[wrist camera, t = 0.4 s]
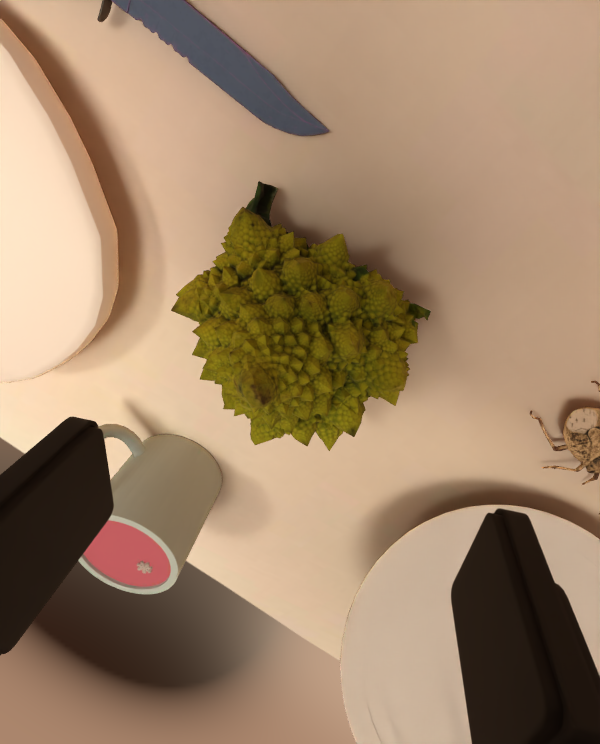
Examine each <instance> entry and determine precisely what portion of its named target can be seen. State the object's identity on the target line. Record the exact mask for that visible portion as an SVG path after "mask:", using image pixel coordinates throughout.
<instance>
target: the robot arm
mask: <svg viewBox="0 0 600 744" xmlns="http://www.w3.org/2000/svg"><path fill="white" fill-rule="evenodd" d="M113 508H114V501H113V495H112V488H111V482H110V475H109V468H108V462H107V455H106V449H105V442H104V435H103V431H102V430H101V429H99V428H98V425H97V423H96V422H94V421H91V420H86V419H81V418H77V417H69V418H67V419H66V420H65V421H63V422H62V423H61V424H60V425H59V426H57V427H56V428H55V429H54V430H53V431H52V432H50V433H49V434H48V435H47V436H46V437H45V438H43V439H42V440H41V441H40V442H39V443H37V444H36V445H35V446H34V447H33V448H32V449H30V450H29V451H28V452H27V453H26V454H24V455H23V456H22V457H21V458H20V459H19V460H18V461H16V462H15V463H14V464H13V465H12V466H10V467H9V468H8V469H7V470H6V471H4V472H3V473H2V474H1V475H0V655H1V654H5V653H7V652H9V651H10V650H11V649H12V648H13V647H14V646H15V645H16V643H17V642H18V641H19V639H20V638H21V637H22V635H23V634H24V633H25V631H26V630H27V629H28V627H29V626H30V625H31V623H32V622H33V621H34V619H35V618H36V616H37V615H38V614H39V613H40V611H41V610H42V608H43V607H44V606H45V604H46V603H47V602H48V600H49V599H50V598H51V596H52V595H53V594H54V592H55V591H56V590H57V588H58V587H59V586H60V584H61V583H62V582H63V580H64V579H65V578H66V576H67V575H68V573H69V572H70V571H71V569H72V568H73V567H74V565H75V564H76V563H77V561H78V560H79V559H80V557H81V556H82V555H83V553H84V552H85V551H86V549H87V548H88V547H89V545H90V544H91V543H92V541H93V540H94V539H95V537H96V536H97V535H98V533H99V532H100V531H101V529H102V528H103V527H104V525H105V524H106V523H107V521H108V520H109V518H110V517H111V514H112V512H113ZM451 604H452V611H453V618H454V624H455V631H456V638H457V645H458V652H459V659H460V666H461V672H462V679H463V686H464V693H465V700H466V707H467V714H468V720H469V727H470V734H471V741H472V744H600V675H599V673H598V671H597V668H596V666H595V663H594V661H593V658H592V656H591V653H590V651H589V648H588V646H587V644H586V641H585V639H584V636H583V634H582V631H581V629H580V626H579V624H578V621H577V619H576V616H575V614H574V612H573V609H572V607H571V604H570V602H569V599H568V597H567V595H566V593H565V591H564V590H563V589H562V588H561V586H560V585H559V584H556V583H555V582H554V579H553V577H552V574H551V572H550V569H549V566H548V564H547V561H546V559H545V556H544V554H543V551H542V549H541V546H540V543H539V541H538V538H537V536H536V533H535V531H534V528H533V525H532V523H531V520H530V518H529V517H528V515H526V514H525V513H520V512H515V511H511V510H506V509H501V508H498V509H497V510H496V511H495V512H494V514H493V513H487V515H486V516H485V518H484V520H483V522H482V524H481V526H480V528H479V530H478V533H477V535H476V537H475V539H474V541H473V543H472V545H471V547H470V549H469V551H468V553H467V555H466V557H465V559H464V561H463V563H462V566H461V568H460V570H459V572H458V574H457V576H456V578H455V580H454V582H453V585H452V589H451Z"/></svg>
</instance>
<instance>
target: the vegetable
mask: <svg viewBox="0 0 600 744" xmlns="http://www.w3.org/2000/svg"><path fill="white" fill-rule="evenodd" d="M277 190H278V188H277V187H274V186H271V185H267V184H263V183H262V182H260V181H259V182H258V186H257V190H256V194H255V198H254V199H252V200H251V201H250V202H249V204H248V205H247V207H246V208H244V207H242V208H241V210H240V211H239V212H238V213H237V214H236V216H235V217H234V219H233V221H232V224H231V226H230V227H229V228H228V229H229V232H228V233H227V234H228V235H227V236H225V237H224V239H225V241H226V242H224V243H221V244H222V246H223V248H224V249H225V251H226V252H225V253H223V254H221V255H219V256H217V257H216V258H217V259H216V260H214V261H213V263H214V264H215V265H216V266H215V267H213V268H211V271H209V270H207V271H204V272H203V275H197V276H196V278H195V279H194V280H193V281H191V282H190V283H188V284H187V285H186V286H185V287H183V288H182V289H181V290H180V291H179V292H178V293H177V294H176V295H177V296H178V297H179V298H178V300H177V302H176V303H175V305H174V306H173V308H172V310H171V311H173V312H176V313H178V314H181V315H183V316H185V317H188V318H190V319H192V320H194V321H197V322H199V324H200V326H199V327H197V328H196V329H195V330H193V331H192V332H193V333H195V334H196V335H197V336H199V337H200V339H199V341H198V343H197V346H196V348H195V350H194V352H193V354H192V355H195V356H198V357H202V358H205V359H207V361H206V364H205V365H204V367H203V368H202V369H203V372H202V374H201V377H200V379H202V380H211V381H215V384H221V385H222V397H223V401H224V404H225V405H224V408H223V409H235V413H234V416H237V415H241V414H245V415H246V417H247V418H248V419H249V418H250V419H251V434H250V435H251V440H252V441H253V443H254V444H255V445H257V444H260V443H263V442H266V441H269V440H272V439H273V438H276V437H277V438H281V436H282V437H283V435H284V433H286V434H288V435H290V433H291V434H292V436H293V437H294V438H295V439H296V440H298V441H299V442H301V443H303V444H304V445H306V446H308V444H309V442H310V440H311V437H312V435H313V434H314V432H315V431H316V433H317V434H318V436H319V437H320V439H322V440H323V442H324V444H325V445H326V447H327V448H328V450H329V451H330V449H331V448H332V446H333V445H334V443H335V442H336V440H337V439H338V437H339V436H340V435H341V434H342V433H343V431H344V432H346V433H348V434H350V435H351V436H353V437H354V436H355V434H356V432H357V430H358V428H359V426H360V424H361V420H362V415H363V413H364V411H365V407H364V404H363V402H365V401H367V400H368V397H370V396H372V397H374V398H376V399H378V398H379V397H381V398H383V399H385V400H386V401H388V402H390V403H391V404H393V405H394V406H396V403H397V399H398V396H399V391H403V390H404V387H405V384H406V379H407V376H408V375H409V374H408V373H407V371H408V370H410V368H409V367H408V363H407V362H406V360H407V359H408V358H407V355H408V353H406V352H405V351H406V349H407V348H408V346H409V345H410V344H414V343H418V337H417V329H418V323H417V322H416V321H414V320H415V319H420V318H422V317H425V319H426V320H428V317H429V315H430V312H431V311H430V310H427V309H425V308H423V307H421V306H418V305H416V304H412V303H410V302H409V300H402V298H403V293H404V291H400V290H397V288H394V287H393V286H392V285H391V284H390V281H389V280H390V279H389V280H386V279H383V278H382V277H381V275H380V274H378V273H377V269H375V270H373V271H371V272H368V271H367V265H363V266H359V267H355V265H353V264H351V263H350V262H348V261H349V257H350V256H349V254H348V250H347V246H346V242H345V239H344V235H343V234H337V235H335V236H334V237H332V238H330V239H329V240H327V241H325V242H323V243H321V244H319V245H317V244H314V243H313V244H312V245H311V246H310V247H308V245H307V243H306V238H295V237H294V231H293V232H290V233H288V232H286V230H285V228H283V227H282V225H281V223H279V224H277V225H275V226H273V227H272V226H271V221H270V220H269V217H270V210H271V205H272V202H273V199H274V197H275V194H276V192H277Z"/></svg>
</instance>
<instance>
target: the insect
mask: <svg viewBox="0 0 600 744" xmlns="http://www.w3.org/2000/svg"><path fill="white" fill-rule="evenodd" d="M594 382H595V383H596V384H598V386H599V392H600V384H599V383H598V382H596V381H591V383H594ZM530 415H531V416H532V418H534V419H537V420H539V423H540V425H541V427H542V430H543V432H544V434H545V436H546V438H547V439H548V441H549V443H550V445H551V446H552V448H553V450H555V451H562V450H565V449H568V450H570V451H571V453H572V454H573V455H574V457H575V458H576V459H578V460H579V461H580V462H581V465H580V466H578V467H577V468H576V469H570V468H565V467H559V466H548V467H542V468H554V469H555V468H559V469H565V470H571V471H576V472H578V471H580V470H581V469H583V468H584V467H586V468H587V471H588V472H589V473H595V474H594V476H593V478H591V479H590V480H588V481H586V482H585V483H588V482H590V481H592V480H593V481H594V480H597V479H598V476H599V473H600V408H591V407H585V408H580V409H576V410H574V411H573V412H572V413H571V414H570V415H569V417H568V418H567V419H566V422H565V425H564V430H563V436H564V439H565V442H566V445H562V446H558V447H556V446H555V445H554V444H553V443H552V441H551V440H550V438H549V437H548V435H547V432H546V430H545V428H544V425H543V423H542V420H541V418H537V417H534V416H533V415H532V410H531V411H530ZM585 483H582V485H583V484H585ZM599 514H600V513H599Z"/></svg>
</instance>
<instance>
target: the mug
mask: <svg viewBox="0 0 600 744" xmlns="http://www.w3.org/2000/svg"><path fill="white" fill-rule="evenodd" d="M98 428H99V429H101V430H102V431H103V435H104V438H107V437H114V438H118V439H120V440H122V441H123V442H124V443H125V444H126V445H127V446H128V447H129V449H130V450H131V452H132V455H131V456H130V457H129V459H128V460H127V461H126V462H125V463H124V465H123V466H122V467H121V468H120V469H119V471H118V472H117V473H116V474H115V475H114V477H113V478H112V479H111V480H110V482H111V488H112V495H113V501H114V508H113V512H112V514H111V517H110V518H109V520H108V521H107V523H106V524H105V525H104V527H103V528H102V529H101V531H100V532H99V533H98V535H97V536H96V537H95V539H94V540H93V541H92V543H91V544H90V545H89V547H88V548H87V549H86V551H85V552H84V553H83V555H82V556H81V557H80V559H79V560H78V561H79V562H80V563H81V564H82V565H83V567H84V568H86V569H87V570H88V571H89V572H90V573H91V574H93V575H94V576H95V577H97V578H98V579H100V580H101V581H103V582H105V583H107V584H109V585H111V586H113V587H115V588H118V589H121V590H124V591H127V592H131V593H137V594H155V593H160V592H163V591H165V590H167V589H169V588H170V587H171V586H172V585H173V584H174V583H175V581H176V579H177V577H178V575H179V573H180V571H181V569H182V567H183V565H184V563H185V561H186V559H187V557H188V555H189V553H190V551H191V549H192V547H193V545H194V543H195V541H196V539H197V537H198V534H199V532H200V530H201V528H202V526H203V524H204V522H205V520H206V518H207V516H208V514H209V512H210V510H211V508H212V506H213V504H214V502H215V500H216V498H217V496H218V494H219V492H220V489H221V486H222V474H221V471H220V468H219V466H218V464H217V462H216V461H215V459H214V458H213V457H212V455H211V454H210V453H209V452H208V451H207V450H205V449H204V448H203V447H202V446H200V445H199V444H197V443H195V442H193V441H191V440H189V439H187V438H184V437H181V436H177V435H170V434H163V435H156V436H152V437H150V438H148V439H146V440H145V441H143V442H141V440H140V438H139V437H138V436H137V435H136V434H135V433H134V432H133V431H131V430H130V429H128V428H126V427H124V426H121V425H118V424H105V425H102V426H99V427H98Z"/></svg>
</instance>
